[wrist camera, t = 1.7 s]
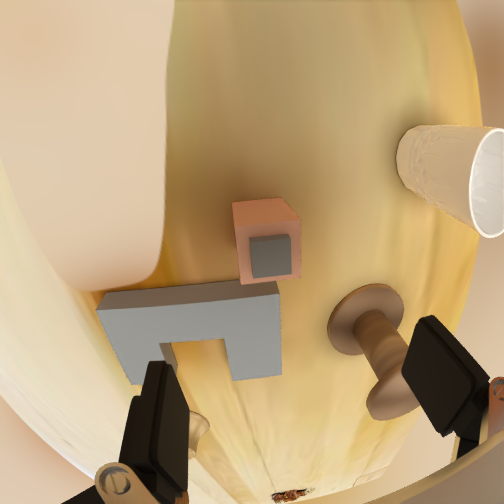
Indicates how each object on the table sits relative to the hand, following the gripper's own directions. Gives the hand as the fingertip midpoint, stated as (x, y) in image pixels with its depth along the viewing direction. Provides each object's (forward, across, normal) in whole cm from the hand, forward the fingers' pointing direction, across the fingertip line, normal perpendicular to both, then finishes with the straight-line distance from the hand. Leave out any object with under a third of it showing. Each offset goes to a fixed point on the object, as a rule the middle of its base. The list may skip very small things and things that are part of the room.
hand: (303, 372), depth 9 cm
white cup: (+15, -16, -6) cm, 23 cm away
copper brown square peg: (+15, 0, -1) cm, 15 cm away
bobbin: (+15, -11, +11) cm, 22 cm away
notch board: (+16, +7, +9) cm, 19 cm away
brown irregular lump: (+17, -5, +74) cm, 77 cm away
